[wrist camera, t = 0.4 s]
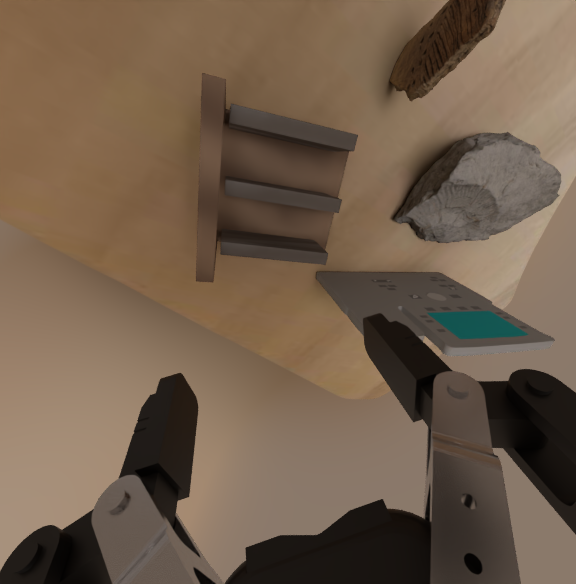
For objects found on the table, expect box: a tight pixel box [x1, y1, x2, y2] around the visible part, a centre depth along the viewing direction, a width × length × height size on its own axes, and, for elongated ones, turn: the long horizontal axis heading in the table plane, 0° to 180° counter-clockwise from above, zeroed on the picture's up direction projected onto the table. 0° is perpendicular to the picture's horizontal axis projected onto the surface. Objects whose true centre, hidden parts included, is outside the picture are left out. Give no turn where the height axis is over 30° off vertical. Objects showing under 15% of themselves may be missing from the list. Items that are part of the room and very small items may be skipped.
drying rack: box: [196, 73, 358, 282], centre depth 29 cm, size 15×17×14 cm
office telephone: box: [316, 272, 555, 356], centre depth 36 cm, size 23×3×20 cm, turn 84°
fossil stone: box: [394, 132, 561, 243], centre depth 36 cm, size 20×15×10 cm
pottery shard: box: [390, 0, 506, 101], centre depth 25 cm, size 8×3×15 cm, turn 159°
